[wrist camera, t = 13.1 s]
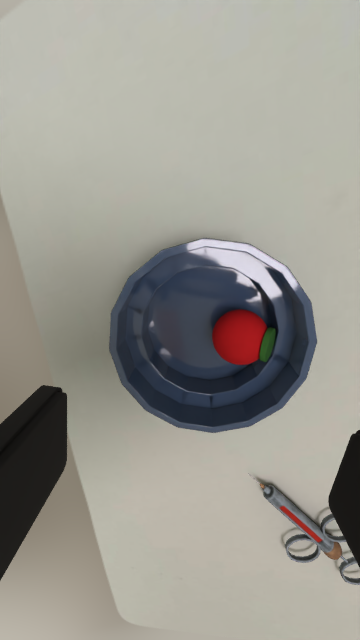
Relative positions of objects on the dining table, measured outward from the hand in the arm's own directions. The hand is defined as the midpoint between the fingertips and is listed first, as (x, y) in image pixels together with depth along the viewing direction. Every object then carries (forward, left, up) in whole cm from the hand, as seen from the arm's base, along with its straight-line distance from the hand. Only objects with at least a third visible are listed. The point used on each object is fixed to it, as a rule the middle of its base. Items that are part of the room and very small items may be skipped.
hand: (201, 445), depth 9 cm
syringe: (+14, -19, -14) cm, 27 cm away
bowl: (+1, 0, -14) cm, 14 cm away
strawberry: (+1, 0, -12) cm, 12 cm away
